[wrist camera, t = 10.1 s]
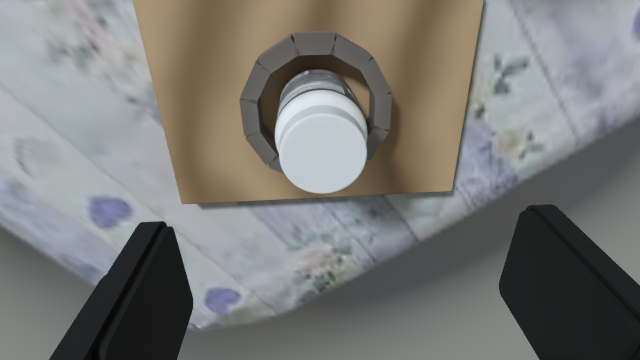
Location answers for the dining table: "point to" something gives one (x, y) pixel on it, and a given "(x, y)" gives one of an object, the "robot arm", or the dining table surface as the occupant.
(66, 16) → the dining table surface
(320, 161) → the pill bottle
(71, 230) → the dining table surface
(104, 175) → the dining table surface
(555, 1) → the dining table surface
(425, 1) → the ring jig
